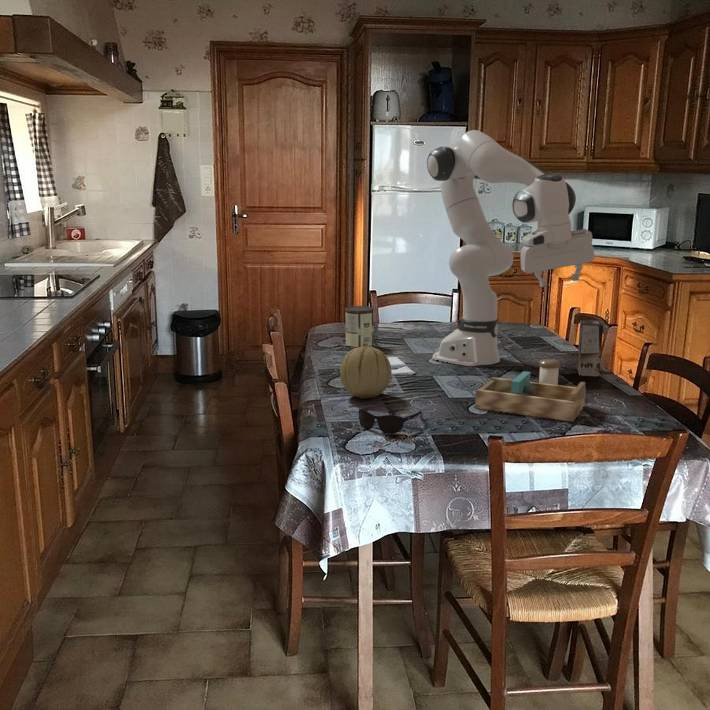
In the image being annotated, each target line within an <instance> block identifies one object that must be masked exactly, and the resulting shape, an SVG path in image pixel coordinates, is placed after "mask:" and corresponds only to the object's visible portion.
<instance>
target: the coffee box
mask: <svg viewBox="0 0 710 710" xmlns="http://www.w3.org/2000/svg"><path fill="white" fill-rule="evenodd" d="M603 333H604V325H603V322H602V321H601V320H599V319H598V320H594V319H589V320H582V319H581V320H580V321H579V333H578V349H577V364H576V366H577V367H576V369H577V373H578V375H579V376H580V375H581V376H582V377H585V376H586V377H597V376H598V377H600V372H601V361H602V348H603V347H602V346H603V335H604V334H603Z"/></svg>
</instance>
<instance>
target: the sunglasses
mask: <svg viewBox="0 0 710 710" xmlns="http://www.w3.org/2000/svg"><path fill="white" fill-rule="evenodd" d="M378 407H385V408H387V409H388V411H390V413H392V414H393V415H392V414H384V415H375V414H373V413H371V412H369V410H372V409H375V408H378ZM396 412H397V411H396V410H394V409H393V408H392V407H391V406H389V405H388V404H384V403H379V404H377V403H376V404H372V405H368V406H365V407H362V408H359V409H358V420H359V425H360V427H361V428H363V429H366V430H370V429H372V428H374V426H375V424H376V421H377V426H378V427H379V430H380V431H381V432H382V433H383V434H390V435H391V434H397V433H399V432H401V431H402V429H403V428H404V423H407V422H408V421H410V420H412V419H414V418H416V417H418V416H419V415H420V420H422V419H423V414H422V413H423V411H422V410H419V411H418V412H415V413H413V414H411V415H408V416H405V417H403V416H400V415H395V413H396Z"/></svg>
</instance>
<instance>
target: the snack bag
mask: <svg viewBox="0 0 710 710" xmlns="http://www.w3.org/2000/svg"><path fill="white" fill-rule="evenodd" d="M386 357H387V358H388V360H389V362H390V365H391V367H393V366H404V367H402V368H399V369H397V370H392V374H404V373H405V374H407V373H408V374H415V373H416V371H413V370H412V369H411V368H409V366H407V365H406V363H405V362H403V360H401V359H399V358H398V356H389V357H388V356H386ZM405 365H406V366H405Z"/></svg>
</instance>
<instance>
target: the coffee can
mask: <svg viewBox="0 0 710 710" xmlns="http://www.w3.org/2000/svg"><path fill="white" fill-rule="evenodd" d="M374 310H375V309H374V307H371V306H365V305H355V306H347V307H345V309H344V311H345V346H346V345H348V346H353V347H365V346H363V343H365V344H367V345H368V346H372V345H373V344H374V342H375V341H374V336H375V335H374Z"/></svg>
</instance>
